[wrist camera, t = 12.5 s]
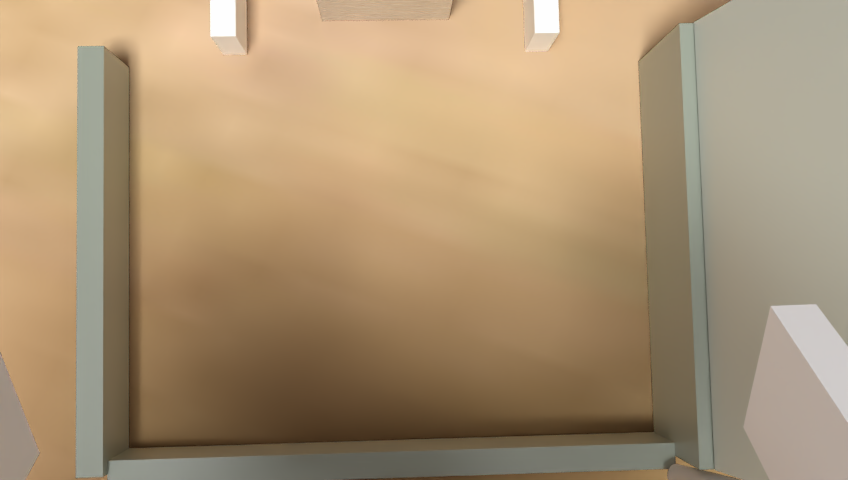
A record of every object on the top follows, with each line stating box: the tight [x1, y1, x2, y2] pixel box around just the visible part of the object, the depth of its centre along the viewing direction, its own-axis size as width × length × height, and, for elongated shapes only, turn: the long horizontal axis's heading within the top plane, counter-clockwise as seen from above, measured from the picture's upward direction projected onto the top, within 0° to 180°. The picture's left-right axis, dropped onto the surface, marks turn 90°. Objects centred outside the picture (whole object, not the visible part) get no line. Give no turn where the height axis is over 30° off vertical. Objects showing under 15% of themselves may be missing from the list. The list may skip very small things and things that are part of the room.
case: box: [76, 0, 848, 480], centre depth 25 cm, size 27×18×19 cm, turn 91°
